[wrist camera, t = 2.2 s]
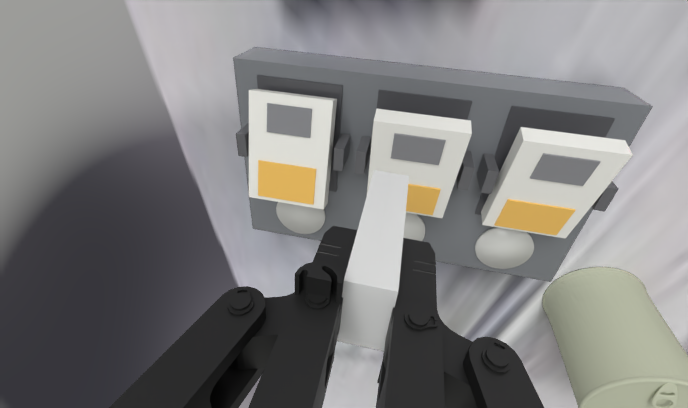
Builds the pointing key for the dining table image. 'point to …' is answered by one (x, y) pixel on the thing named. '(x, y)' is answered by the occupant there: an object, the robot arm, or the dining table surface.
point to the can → (615, 341)
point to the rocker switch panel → (444, 101)
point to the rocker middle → (420, 155)
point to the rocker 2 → (552, 180)
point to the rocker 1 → (290, 147)
